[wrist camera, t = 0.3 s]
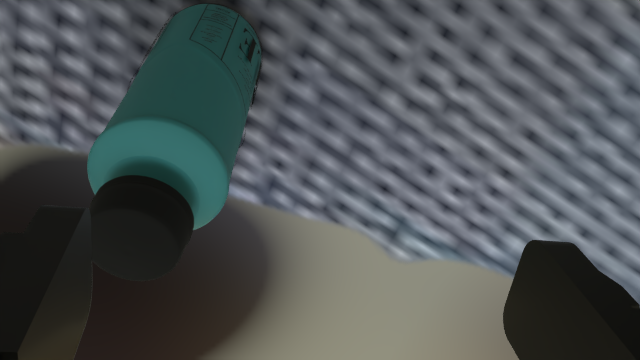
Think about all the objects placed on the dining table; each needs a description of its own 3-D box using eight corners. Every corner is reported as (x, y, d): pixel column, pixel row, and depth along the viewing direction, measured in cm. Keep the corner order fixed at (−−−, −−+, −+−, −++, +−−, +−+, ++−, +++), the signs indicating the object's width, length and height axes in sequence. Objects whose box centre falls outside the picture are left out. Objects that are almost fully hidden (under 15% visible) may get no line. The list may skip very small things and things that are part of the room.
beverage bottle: (146, 22, 39) (1, 227, 23) (229, -31, 37) (134, 154, 21) (208, 100, 42) (119, 329, 26) (288, 56, 40) (246, 275, 24)
